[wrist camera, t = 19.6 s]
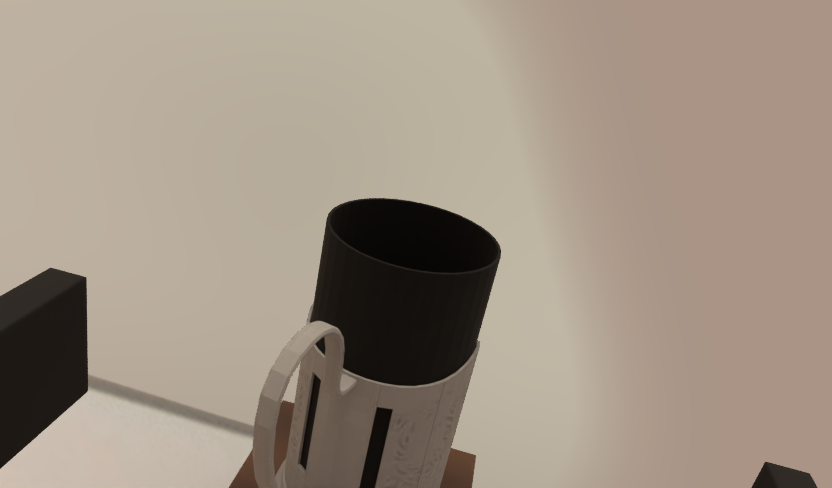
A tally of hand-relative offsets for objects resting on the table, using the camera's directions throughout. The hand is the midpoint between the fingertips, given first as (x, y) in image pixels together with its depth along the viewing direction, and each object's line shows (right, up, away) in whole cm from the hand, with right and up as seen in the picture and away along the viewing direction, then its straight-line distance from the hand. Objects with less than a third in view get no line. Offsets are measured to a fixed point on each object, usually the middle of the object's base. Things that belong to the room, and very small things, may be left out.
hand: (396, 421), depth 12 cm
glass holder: (-4, -10, +18) cm, 22 cm away
